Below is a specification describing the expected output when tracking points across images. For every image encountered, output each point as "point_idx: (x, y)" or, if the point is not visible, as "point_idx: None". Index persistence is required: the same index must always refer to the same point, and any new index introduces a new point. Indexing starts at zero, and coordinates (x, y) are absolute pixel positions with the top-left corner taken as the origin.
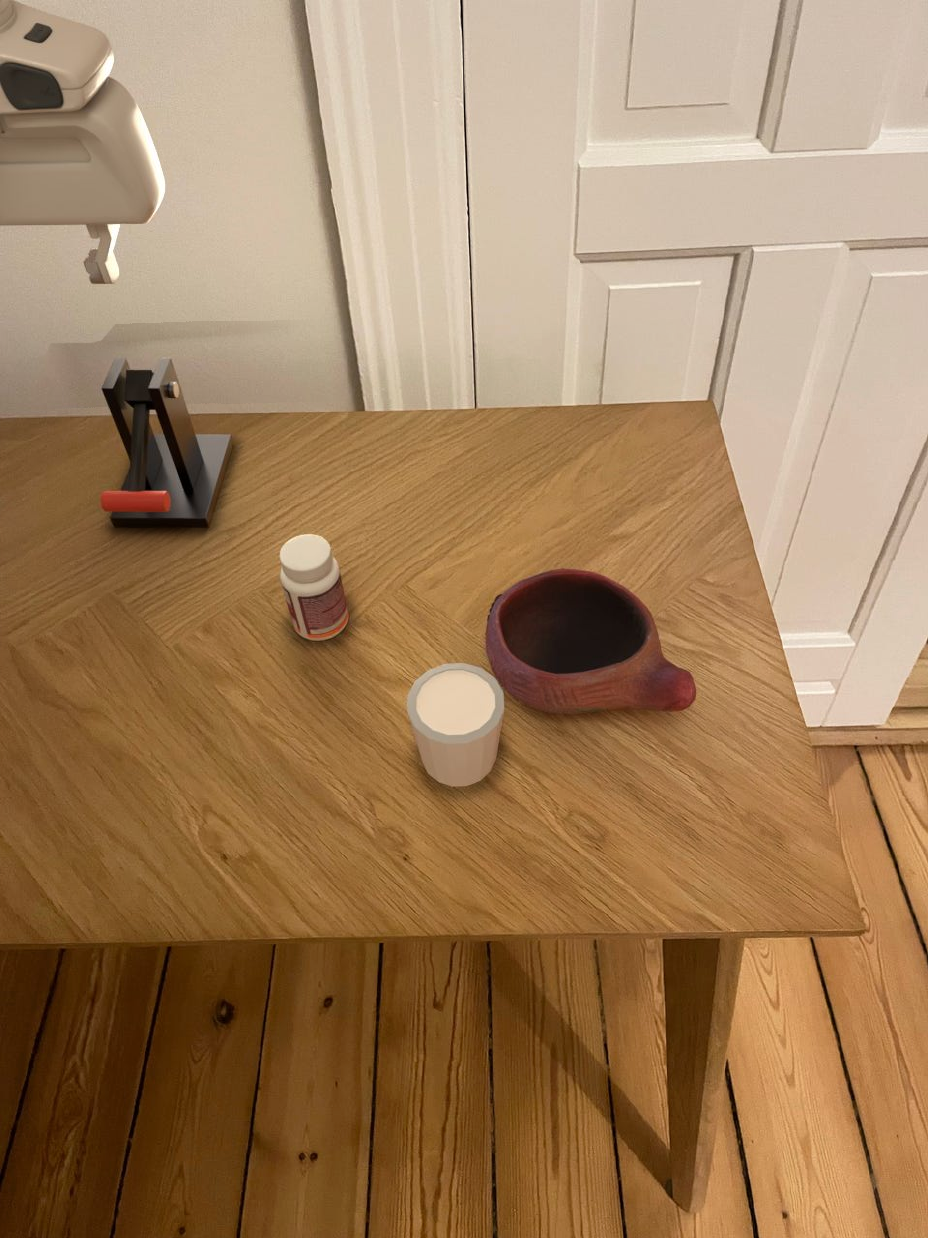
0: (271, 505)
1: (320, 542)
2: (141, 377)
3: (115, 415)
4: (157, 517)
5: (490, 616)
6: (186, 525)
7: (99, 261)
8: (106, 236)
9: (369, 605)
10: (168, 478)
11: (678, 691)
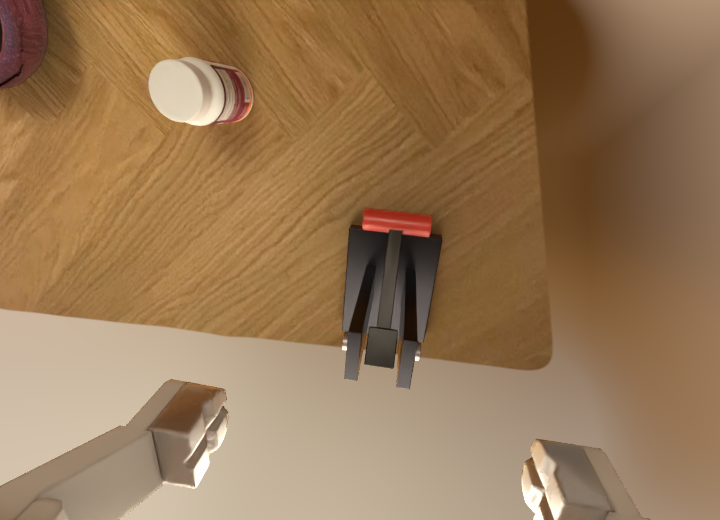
0: (299, 246)
1: (162, 106)
2: (375, 355)
3: (413, 319)
4: None
5: (10, 18)
6: None
7: (134, 428)
8: (4, 497)
9: None
10: None
11: None
